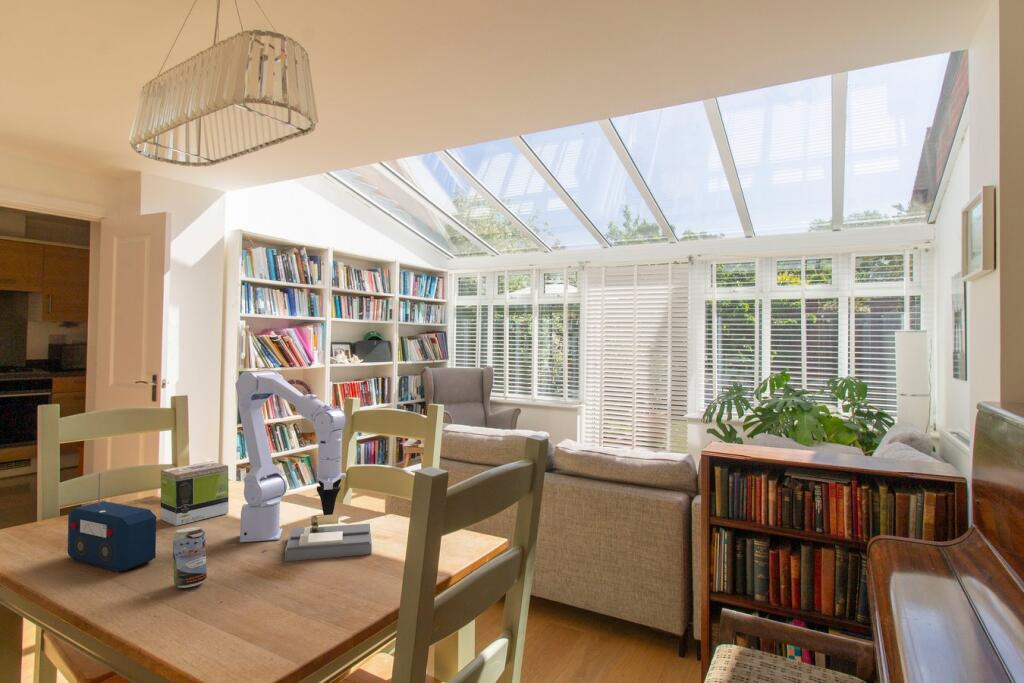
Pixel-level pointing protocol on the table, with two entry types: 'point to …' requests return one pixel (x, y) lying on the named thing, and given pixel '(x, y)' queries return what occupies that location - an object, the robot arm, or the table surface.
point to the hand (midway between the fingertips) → (328, 510)
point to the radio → (111, 535)
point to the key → (323, 520)
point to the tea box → (194, 492)
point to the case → (352, 544)
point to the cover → (320, 538)
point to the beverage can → (189, 557)
